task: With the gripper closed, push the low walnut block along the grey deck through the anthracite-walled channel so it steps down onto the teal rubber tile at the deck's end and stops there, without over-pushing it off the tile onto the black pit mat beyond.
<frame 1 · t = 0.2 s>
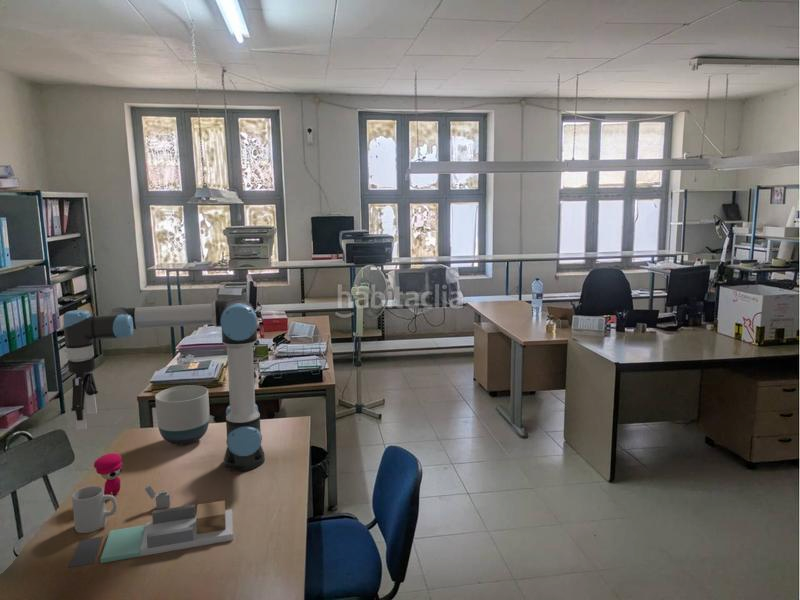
hand: (87, 421, 178), 28 cm above the table, fingers open, 13 cm apart
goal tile: (125, 545, 158), on the table
planter: (185, 442, 228), on the table
mug: (97, 525, 168), on the table
pit mat: (86, 551, 155), on the table
deck: (189, 534, 164), on the table
lighter: (158, 507, 178), on the table
toy: (111, 497, 185), on the table
block: (211, 524, 165), point 2 cm above the table, touching deck
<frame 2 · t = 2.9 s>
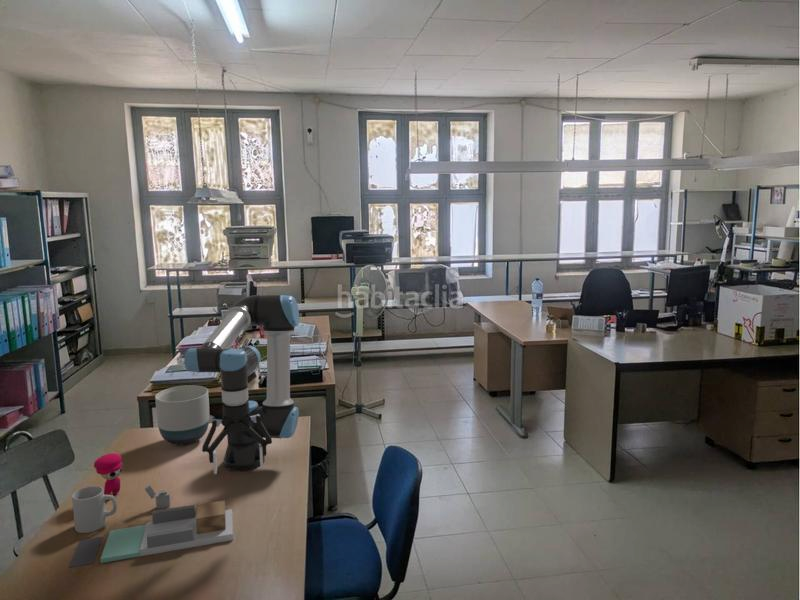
hand: (238, 468, 165), 19 cm above the table, fingers open, 13 cm apart
nothing on the table moved.
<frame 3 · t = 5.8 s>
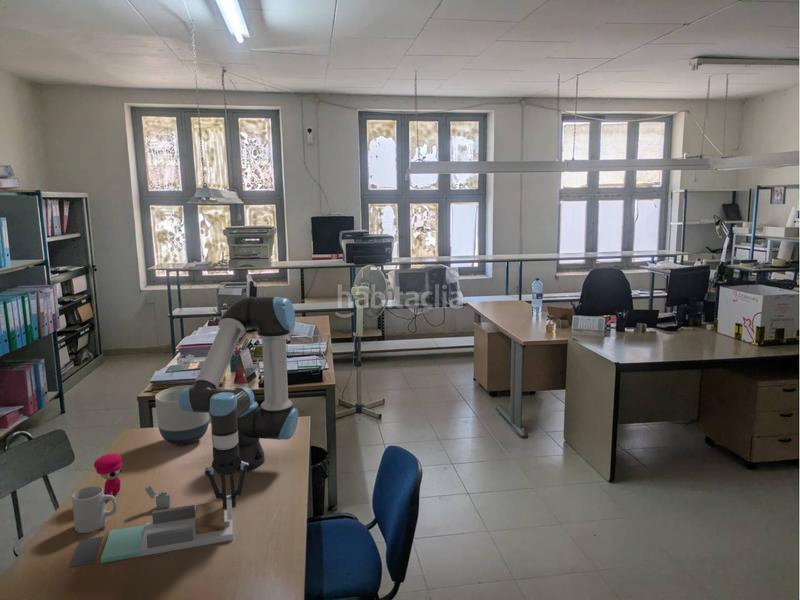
hand: (230, 517, 166), 3 cm above the table, fingers closed
block: (210, 524, 165), point 2 cm above the table, touching deck, gripper
everything else where it was.
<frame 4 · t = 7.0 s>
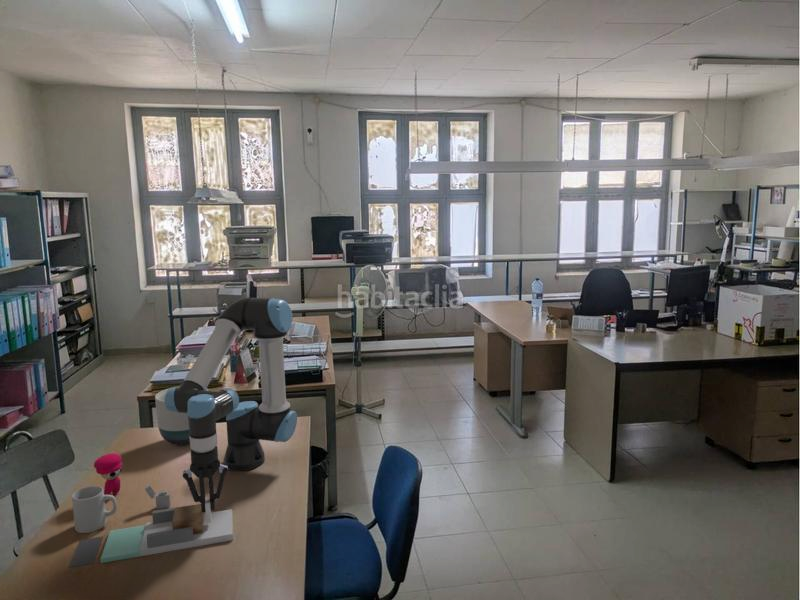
hand: (208, 520, 165), 3 cm above the table, fingers closed
block: (189, 527, 163), point 2 cm above the table, touching deck, gripper
everything else where it was.
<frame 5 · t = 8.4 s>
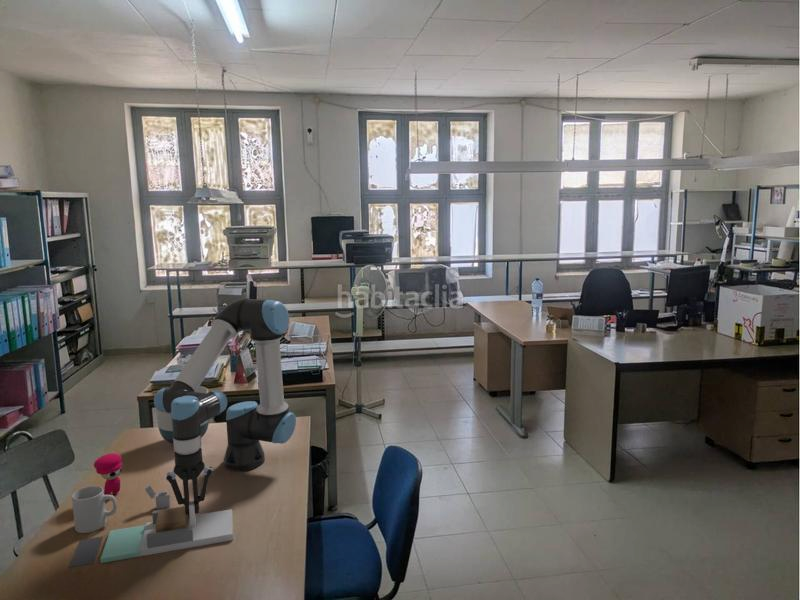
hand: (193, 523, 163), 4 cm above the table, fingers closed
block: (172, 530, 162), point 2 cm above the table, touching gripper
everything else where it was.
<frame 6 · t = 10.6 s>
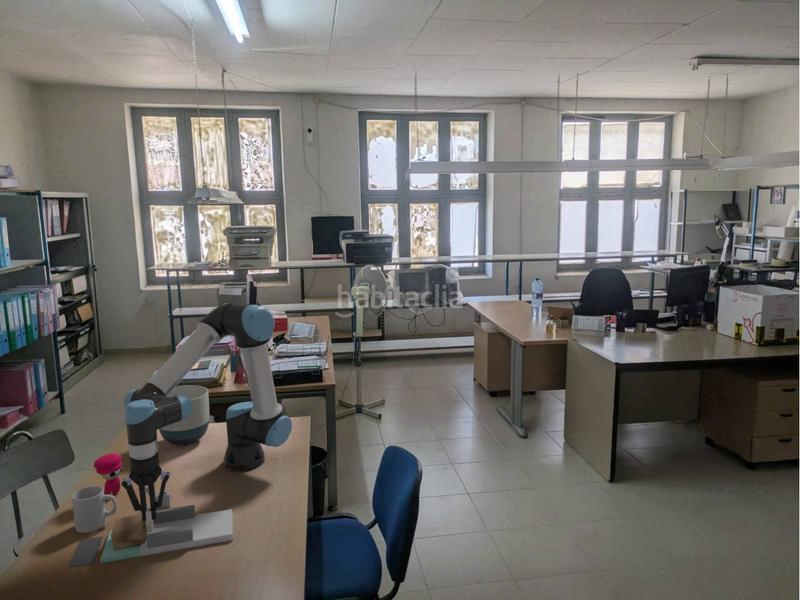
hand: (150, 529, 160), 4 cm above the table, fingers closed
block: (132, 538, 159), point 2 cm above the table, tilted 6°, touching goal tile, gripper
everything else where it was.
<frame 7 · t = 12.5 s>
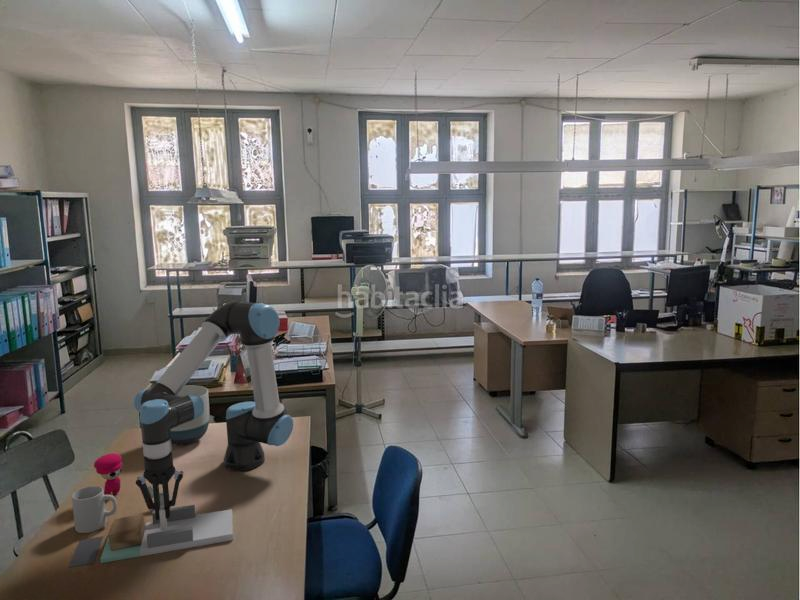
hand: (164, 528, 161), 3 cm above the table, fingers closed
block: (128, 539, 158), point 2 cm above the table, tilted 5°, touching deck, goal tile
everything else where it was.
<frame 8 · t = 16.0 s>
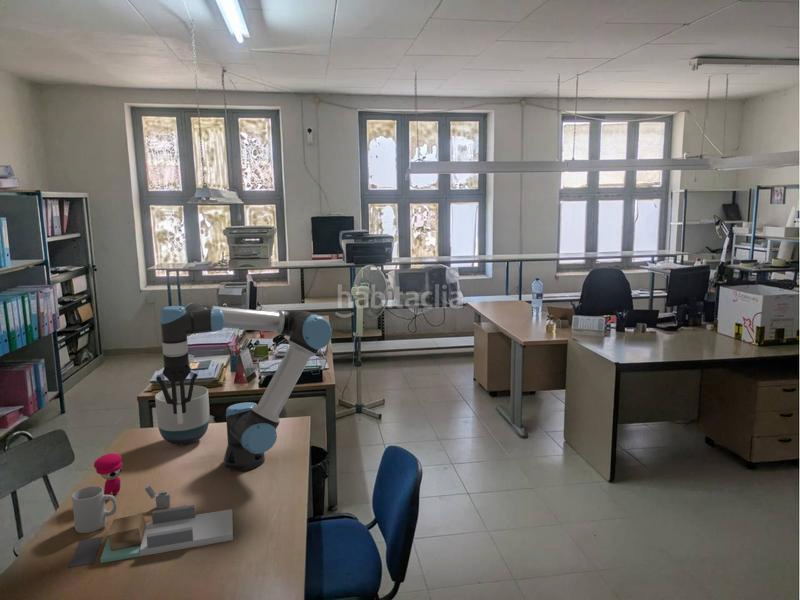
hand: (180, 422, 181), 26 cm above the table, fingers closed
nothing on the table moved.
at the end: block inside the target area (1.6 cm from its centre), point 1.7 cm above the table; block tilted 5°; block touching deck, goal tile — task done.
